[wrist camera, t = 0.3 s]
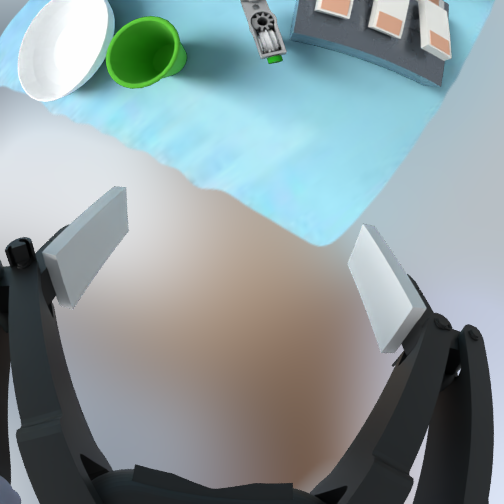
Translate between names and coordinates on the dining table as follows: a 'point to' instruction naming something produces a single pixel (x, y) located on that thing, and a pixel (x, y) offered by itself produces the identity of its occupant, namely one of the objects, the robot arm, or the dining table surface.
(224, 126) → the dining table surface
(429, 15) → the block
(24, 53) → the bowl
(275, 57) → the mechanical component
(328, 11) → the block
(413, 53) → the console
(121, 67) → the cup
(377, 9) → the rocker
